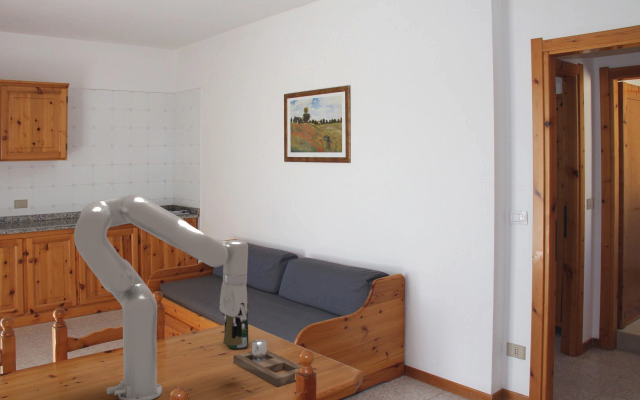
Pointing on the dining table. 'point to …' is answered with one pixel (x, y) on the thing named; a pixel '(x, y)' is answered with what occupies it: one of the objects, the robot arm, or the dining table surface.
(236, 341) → the olive brown tall piece
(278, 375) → the socket board
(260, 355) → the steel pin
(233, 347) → the coffee jar
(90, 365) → the dining table surface
